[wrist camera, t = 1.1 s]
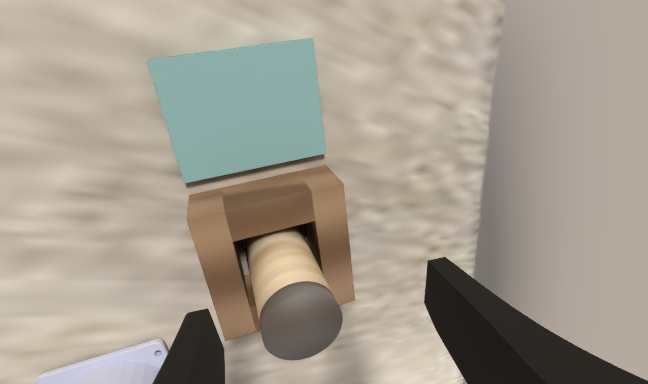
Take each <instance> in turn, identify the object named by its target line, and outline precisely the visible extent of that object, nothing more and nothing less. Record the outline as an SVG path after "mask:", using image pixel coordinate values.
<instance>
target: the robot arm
mask: <svg viewBox="0 0 648 384" xmlns="http://www.w3.org/2000/svg"><path fill="white" fill-rule="evenodd" d="M424 303H425V305H426V308H427V310H428V313H429V315H430V317H431V319H432V322H433V324H434V326H435V328H436V331H437V332H438V334H439V336H440V338H441V339H442V341H443V343H444V345H445V346H446V348H447V350H448V351H449V353H450V355H451V357H452V358H453V360H454V362H455V363H456V365H457V367H458V368H459V370H460V372H461V374H462V375H463V377H464V379H465V380H466V382H467V384H648V381H647V380H644V379H642V378H640V377H638V376H635V375H633V374H631V373H629V372H627V371H625V370H623V369H620V368H618V367H616V366H614V365H612V364H610V363H608V362H606V361H604V360H602V359H600V358H598V357H596V356H594V355H592V354H590V353H588V352H587V351H585V350H583V349H581V348H579V347H577V346H575V345H574V344H572V343H570V342H568V341H567V340H565V339H563V338H561V337H560V336H558V335H556V334H554V333H553V332H550V331H549V330H547V329H546V328H544V327H542V326H541V325H539V324H538V323H536V322H535V321H533V320H531V319H530V318H528V317H527V316H525V315H524V314H522V313H521V312H519V311H518V310H516V309H515V308H513V307H512V306H510V305H509V304H508V303H506V302H505V301H503V300H502V299H501V298H499V297H498V296H496V295H495V294H493V293H492V292H491V291H489V290H488V289H486V288H485V287H484V286H482V285H481V284H480V283H479V282H477V281H476V280H475V279H473V278H472V277H471V276H469V275H468V274H467V273H465V272H464V271H463V270H462V269H460V268H459V267H458V266H456V265H455V264H454V263H452V262H451V261H450V260H448V259H447V258H446V257H443V258H438V259H434V260H429V261H428V265H427V277H426V289H425V301H424ZM156 351H161V352H156ZM35 383H36V384H225V361H224V348H223V345H222V343H221V340H220V338H219V335H218V332H217V330H216V327H215V325H214V322H213V320H212V317H211V315H210V312H209V310H208V309H204V310H199V311H194V312H190V313H187V315H186V316H185V318H184V320H183V322H182V325H181V327H180V329H179V331H178V333H177V336H176V338H175V340H174V342H173V344H172V346H171V348H170V350H169V352H168V351H167V348H166V346H165V343H164V342H163V341H162V340H160V339H155V340H151V341H148V342H145V343H141V344H138V345H135V346H131V347H128V348H125V349H121V350H118V351H115V352H111V353H108V354H105V355H101V356H98V357H95V358H91V359H88V360H85V361H81V362H78V363H75V364H71V365H68V366H65V367H61V368H58V369H55V370H51V371H48V372H45V373H42V374H40V375H39V376H38V377H37V379H36V382H35Z"/></svg>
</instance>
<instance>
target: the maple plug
mask: <svg viewBox="0 0 648 384" xmlns="http://www.w3.org/2000/svg"><path fill="white" fill-rule="evenodd" d="M244 247H245V252H246V257H247V262H248V267H249V272H250V278H251V283H252V288H253V293H254V298H255V303H256V308H257V313H258V318H259V323H260V329H261V334H262V339H263V343H264V345H265V347H266V349H267V350H268V351H269V352H270V353H271V354H272V355H274V356H276V357H278V358H281V359H285V360H300V359H305V358H308V357H311V356H314V355H316V354H318V353H319V352H321V351H323V350H324V349H325V348H327V347H328V346H329V345H330V344H331V343H332V342H333V341H334V340H335V338H336V337H337V335H338V333H339V331H340V329H341V326H342V320H343V319H342V312H341V309H340V307H339V305H338V303H337V301H336V299H335V297H334V295H333V293H332V291H331V289H330V287H329V285H328V283H327V281H326V279H325V277H324V276H323V274H322V272H321V270H320V268H319V266H318V264H317V262H316V260H315V258H314V256H313V254H312V252H311V250H310V248H309V246H308V244H307V242H306V240H305V238H304V236H303V234H302V232H301V230H300V228H299V226H298V225H297V226H293V227H289V228H285V229H281V230H277V231H273V232H269V233H265V234H261V235H257V236H254V237H250V238H246V239H244Z"/></svg>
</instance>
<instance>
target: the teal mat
mask: <svg viewBox="0 0 648 384" xmlns="http://www.w3.org/2000/svg"><path fill="white" fill-rule="evenodd" d="M147 63H148V66H149V70H150V73H151V76H152V79H153V83H154V86H155V89H156V93H157V96H158V99H159V102H160V106H161V109H162V112H163V115H164V119H165V122H166V125H167V128H168V132H169V135H170V138H171V142H172V145H173V148H174V151H175V155H176V158H177V161H178V164H179V168H180V171H181V174H182V177H183V181H184V183H189V182H194V181H198V180H203V179H208V178H213V177H217V176H222V175H227V174H231V173H236V172H241V171H246V170H250V169H255V168H260V167H265V166H269V165H274V164H279V163H283V162H288V161H293V160H298V159H302V158H307V157H312V156H317V155H321V154H326V146H325V137H324V129H323V120H322V112H321V103H320V94H319V86H318V77H317V69H316V60H315V52H314V43H313V38H308V39H300V40H293V41H285V42H278V43H271V44H263V45H256V46H248V47H241V48H233V49H226V50H218V51H211V52H203V53H196V54H188V55H181V56H174V57H166V58H159V59H151V60H147Z"/></svg>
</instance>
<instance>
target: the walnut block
mask: <svg viewBox="0 0 648 384" xmlns="http://www.w3.org/2000/svg"><path fill="white" fill-rule="evenodd" d="M187 222H188V225H189V229H190V232H191V235H192V238H193V241H194V244H195V247H196V251H197V254H198V257H199V260H200V263H201V266H202V269H203V273H204V276H205V279H206V282H207V285H208V288H209V291H210V295H211V298H212V301H213V304H214V307H215V310H216V313H217V317H218V320H219V323H220V326H221V329H222V332H223V335H224V339H225V341H227V340H230V339H233V338H237V337H240V336H243V335H246V334H249V333H252V332H256V331H259V330H261V329H260V323H259V318H258V313H257V308H256V303H255V298H254V293H253V288H252V283H251V278H250V275H246V276H244V272H243V269H242V265H241V261H240V257H239V253H238V249H237V245H236V242H235V241H238V240H242V239H246V238H250V237H254V236H257V235H261V234H265V233H269V232H273V231H277V230H281V229H285V228H289V227H293V226H297V225H301V224H305V223H306V229H307V236H308V242H309V248H310V250H311V252H312V254H313V256H314V258H315V260H316V262H317V264H318V266H319V268H320V270H321V272H322V274H323V276H324V277H325V279H326V281H327V283H328V285H329V287H330V289H331V291H332V293H333V295H334V297H335V299H336V301H337V303H338V305H342V304H345V303H348V302H351V301H354V300H355V295H354V285H353V275H352V265H351V255H350V244H349V234H348V224H347V214H346V204H345V194H344V184H343V183H342V181H341V180H340V179H339V178H338V177H337V176H336V175H335V174H334V173H333V172H332V171H331V170H330V169H329V168H328V167H327V166H326V165H325V166H320V167H316V168H311V169H306V170H302V171H297V172H293V173H288V174H284V175H279V176H274V177H270V178H265V179H261V180H256V181H252V182H247V183H243V184H238V185H233V186H229V187H224V188H220V189H215V190H211V191H206V192H201V193H197V194H192V195H189V202H188V213H187Z"/></svg>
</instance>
